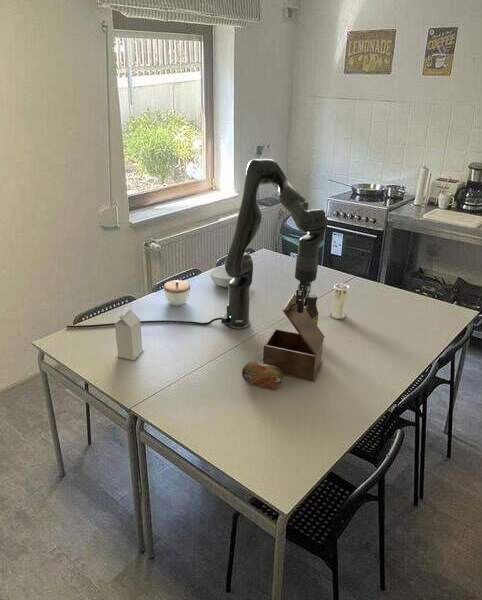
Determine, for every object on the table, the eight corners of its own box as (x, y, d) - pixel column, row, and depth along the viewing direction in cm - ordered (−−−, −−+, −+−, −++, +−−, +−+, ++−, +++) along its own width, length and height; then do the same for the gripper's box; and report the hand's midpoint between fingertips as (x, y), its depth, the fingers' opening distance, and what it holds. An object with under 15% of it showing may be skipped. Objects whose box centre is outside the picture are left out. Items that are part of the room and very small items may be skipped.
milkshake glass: (336, 320, 223) (340, 291, 216) (327, 314, 228) (330, 285, 222) (348, 317, 226) (352, 288, 219) (339, 311, 231) (342, 282, 225)
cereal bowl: (207, 289, 251) (207, 276, 248) (214, 276, 266) (213, 264, 263) (240, 292, 249) (240, 279, 246) (244, 279, 264) (245, 267, 260)
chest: (262, 369, 187) (263, 345, 182) (273, 351, 199) (274, 328, 194) (313, 381, 181) (315, 356, 176) (321, 361, 192) (323, 337, 188)
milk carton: (142, 351, 197) (139, 309, 189) (133, 360, 191) (130, 317, 183) (127, 348, 199) (123, 306, 191) (118, 357, 193) (113, 314, 185)
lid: (282, 310, 173) (294, 304, 170) (292, 294, 185) (304, 288, 182) (314, 355, 176) (327, 350, 173) (323, 337, 188) (334, 331, 185)
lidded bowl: (176, 294, 246) (175, 274, 241) (195, 301, 239) (195, 280, 234) (159, 303, 236) (157, 282, 231) (178, 310, 230) (178, 289, 225)
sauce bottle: (315, 342, 205) (319, 300, 196) (300, 341, 206) (304, 298, 197) (316, 335, 211) (320, 293, 202) (301, 333, 212) (305, 292, 203)
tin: (241, 382, 179) (241, 362, 176) (244, 377, 182) (244, 358, 178) (281, 391, 175) (282, 371, 171) (283, 386, 177) (284, 366, 174)
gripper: (301, 257, 177) (297, 299, 185) (290, 271, 165) (286, 315, 173) (321, 260, 175) (316, 302, 183) (312, 275, 163) (307, 319, 171)
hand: (302, 308), depth 178 cm, fingers closed on lid, 5 cm apart
